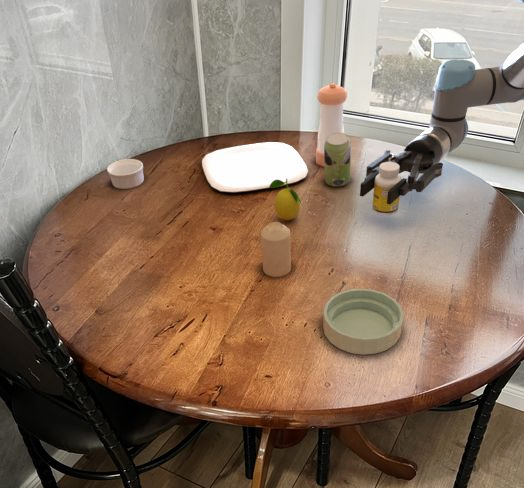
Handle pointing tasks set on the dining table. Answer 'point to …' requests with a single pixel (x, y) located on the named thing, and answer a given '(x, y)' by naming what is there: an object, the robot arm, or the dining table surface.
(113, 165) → the ramekin
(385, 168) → the supplement bottle
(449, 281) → the dining table surface
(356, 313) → the bowl
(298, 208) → the lemon
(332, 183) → the beverage can
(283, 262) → the candle
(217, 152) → the plate
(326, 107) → the pepper shaker
